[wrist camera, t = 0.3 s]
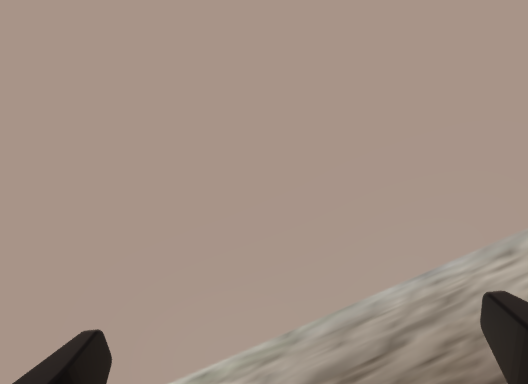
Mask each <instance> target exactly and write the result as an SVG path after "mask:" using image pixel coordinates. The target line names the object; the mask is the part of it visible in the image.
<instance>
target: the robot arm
mask: <svg viewBox="0 0 528 384" xmlns="http://www.w3.org/2000/svg"><path fill="white" fill-rule="evenodd" d="M480 324H481V329H482V331H483V334H484V336H485V338H486V340H487V342H488V344H489V346H490V348H491V350H492V352H493V354H494V356H495V358H496V360H497V362H498V364H499V366H500V368H501V370H502V372H503V374H504V376H505V378H506V381H507V383H508V384H528V302H527V301H524V300H522V299H520V298H518V297H516V296H514V295H512V294H510V293H508V292H505V291H493V292H486V293H485V294H484V295H483V299H482V309H481V318H480ZM111 363H112V357H111V353H110V350H109V347H108V345H107V342H106V339H105V336H104V334H103V332H102V331H101V330H88V331H83V332H81V333H80V334H78V335H77V336H76V337H74V338H73V339H72V340H70V341H69V342H68V343H67V344H65V345H64V346H62V347H61V348H60V349H58V350H57V351H56V352H54V353H53V354H52V355H50V356H49V357H48V358H47V359H45V360H44V361H42V362H41V363H40V364H38V365H37V366H36V367H34V368H33V369H31V370H30V371H29V372H27V373H26V374H25V375H24V376H22V377H21V378H20V379H18V380H17V381H16V382H14V383H13V384H106V383H107V379H108V375H109V372H110V368H111Z"/></svg>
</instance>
